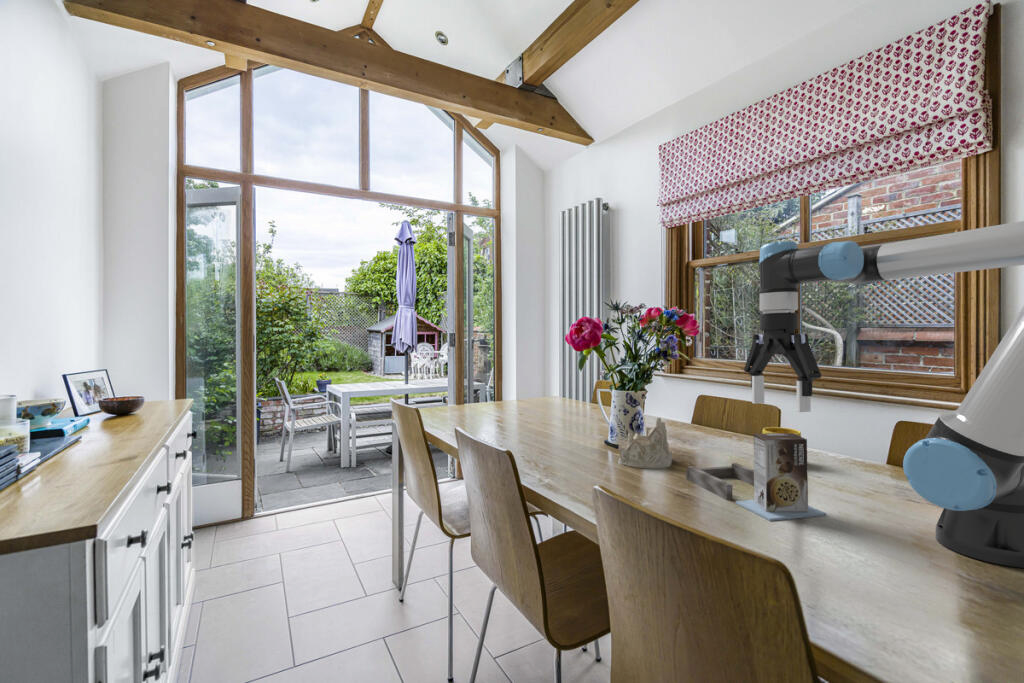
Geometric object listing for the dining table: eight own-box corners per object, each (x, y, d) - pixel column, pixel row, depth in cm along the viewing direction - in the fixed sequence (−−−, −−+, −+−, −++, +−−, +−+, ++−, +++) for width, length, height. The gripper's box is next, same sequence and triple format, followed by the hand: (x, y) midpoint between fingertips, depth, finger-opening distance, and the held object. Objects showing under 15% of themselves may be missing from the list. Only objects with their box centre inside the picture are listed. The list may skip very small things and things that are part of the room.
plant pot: (808, 466, 143) (808, 433, 142) (773, 466, 143) (773, 433, 143) (789, 457, 153) (789, 426, 153) (756, 457, 153) (756, 426, 153)
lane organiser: (781, 494, 118) (781, 480, 118) (726, 499, 115) (726, 485, 115) (734, 474, 135) (734, 462, 135) (686, 478, 132) (686, 465, 132)
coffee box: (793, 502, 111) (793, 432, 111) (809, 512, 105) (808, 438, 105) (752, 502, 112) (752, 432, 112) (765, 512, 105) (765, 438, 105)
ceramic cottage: (677, 457, 154) (673, 411, 153) (666, 473, 139) (661, 421, 139) (629, 455, 161) (625, 410, 161) (613, 469, 147) (609, 420, 147)
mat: (826, 515, 105) (826, 512, 105) (769, 521, 102) (769, 518, 102) (787, 498, 115) (787, 496, 115) (735, 503, 112) (735, 501, 112)
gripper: (841, 309, 96) (842, 415, 97) (754, 315, 121) (755, 399, 121) (809, 309, 95) (810, 416, 95) (728, 315, 119) (728, 400, 119)
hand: (779, 407), depth 108 cm, fingers open, 13 cm apart
